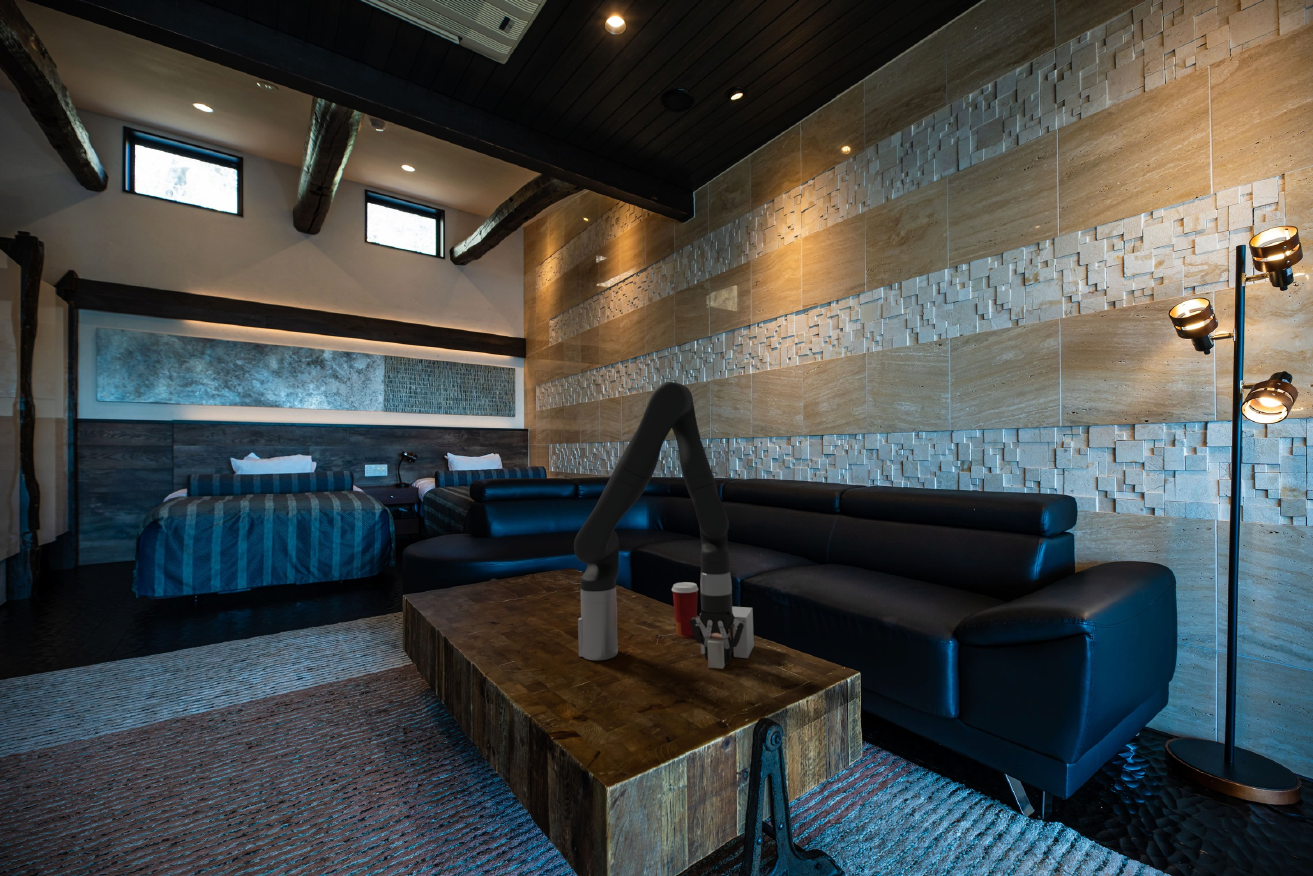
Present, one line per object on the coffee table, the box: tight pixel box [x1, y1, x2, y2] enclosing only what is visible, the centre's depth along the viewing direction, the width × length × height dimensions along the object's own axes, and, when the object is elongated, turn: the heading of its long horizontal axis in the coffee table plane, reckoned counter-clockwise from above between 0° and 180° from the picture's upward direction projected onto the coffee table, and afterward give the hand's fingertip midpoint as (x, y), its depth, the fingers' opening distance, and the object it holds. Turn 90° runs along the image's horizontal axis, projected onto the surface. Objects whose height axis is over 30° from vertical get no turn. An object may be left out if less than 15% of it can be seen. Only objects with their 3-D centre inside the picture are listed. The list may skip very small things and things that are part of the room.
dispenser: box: [699, 606, 755, 659], centre depth 141 cm, size 12×10×10 cm
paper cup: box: [671, 581, 699, 639], centre depth 154 cm, size 8×8×14 cm
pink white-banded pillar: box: [707, 627, 734, 670], centre depth 136 cm, size 4×16×6 cm, turn 160°
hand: (718, 661), depth 131 cm, fingers closed on pink white-banded pillar, 3 cm apart
